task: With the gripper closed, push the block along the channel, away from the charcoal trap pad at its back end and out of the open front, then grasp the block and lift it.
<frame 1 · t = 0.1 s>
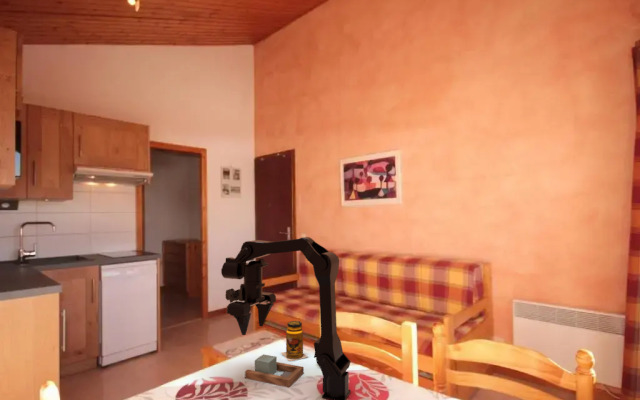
hand: (252, 330, 110), 14 cm above the table, tool pointing down, fingers open, 9 cm apart
condiment: (294, 356, 127), on the table
block: (265, 374, 112), on the table
trap: (285, 377, 109), on the table
channel: (272, 375, 111), on the table
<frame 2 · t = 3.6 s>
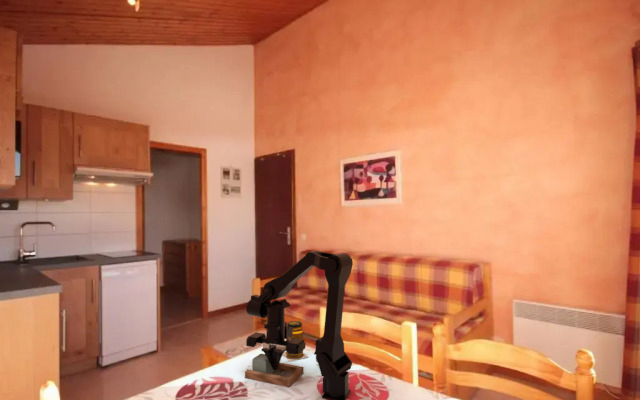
hand: (275, 370, 111), 2 cm above the table, tool pointing down, fingers closed
block: (263, 373, 112), on the table, touching gripper
everything else where it was.
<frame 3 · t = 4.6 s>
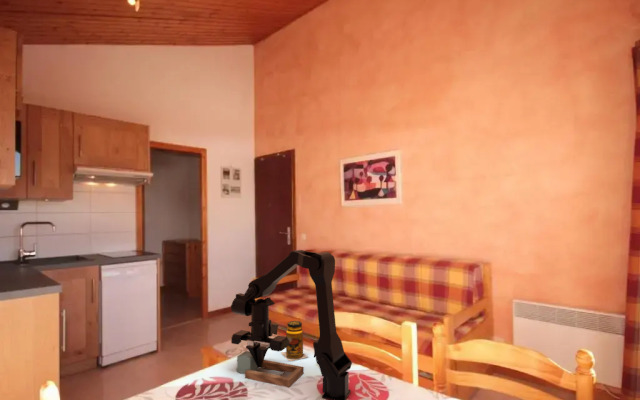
hand: (259, 367, 113), 2 cm above the table, tool pointing down, fingers closed
block: (247, 370, 115), on the table, touching gripper
everything else where it was.
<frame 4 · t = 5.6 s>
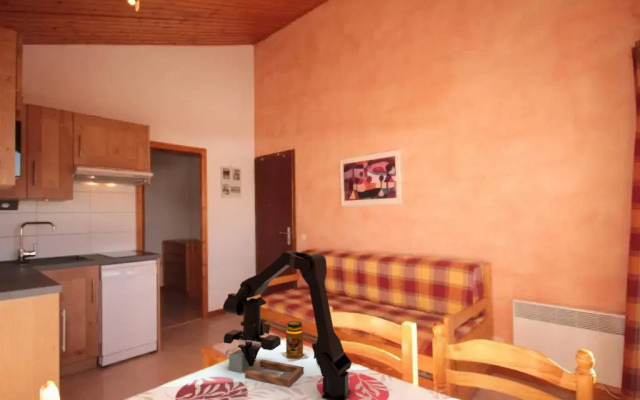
hand: (251, 366, 114), 2 cm above the table, tool pointing down, fingers closed
block: (239, 368, 116), on the table, touching gripper
everything else where it was.
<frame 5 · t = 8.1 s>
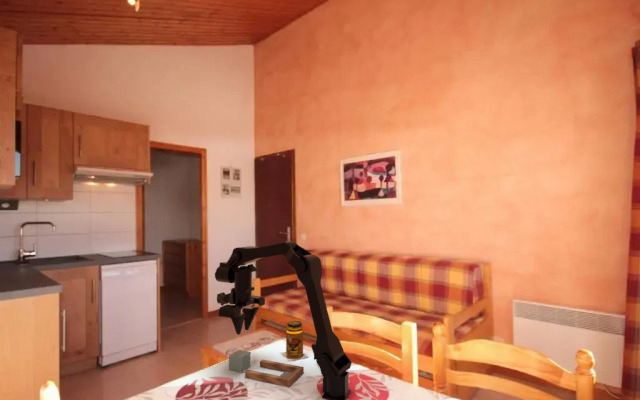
hand: (242, 332, 116), 12 cm above the table, tool pointing down, fingers open, 4 cm apart
block: (239, 369, 116), on the table
everything else where it was.
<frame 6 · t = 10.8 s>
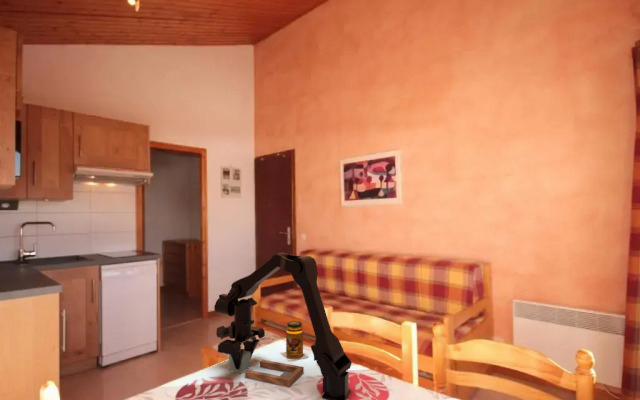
hand: (242, 365, 116), 1 cm above the table, tool pointing down, fingers closed on block, 5 cm apart
block: (239, 368, 116), on the table, touching gripper
everything else where it was.
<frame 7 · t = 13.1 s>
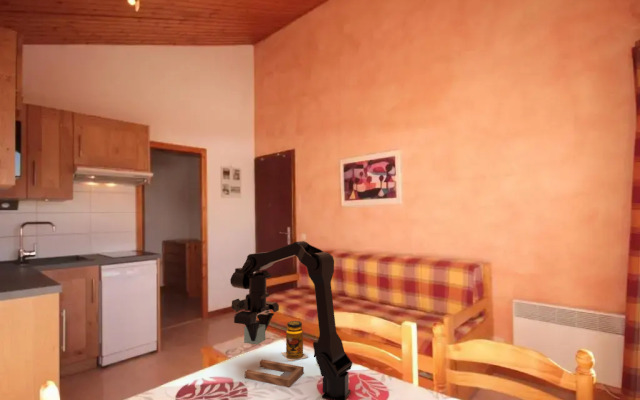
hand: (257, 338, 116), 10 cm above the table, tool pointing down, fingers closed on block, 5 cm apart
block: (254, 341, 116), point 9 cm above the table, touching gripper
everything else where it was.
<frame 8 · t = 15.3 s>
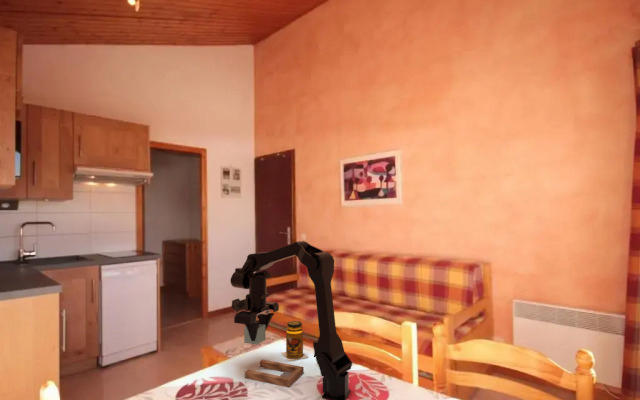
hand: (257, 338, 116), 10 cm above the table, tool pointing down, fingers closed on block, 5 cm apart
block: (254, 341, 116), point 9 cm above the table, touching gripper
everything else where it was.
at the end: the gripper is holding block; block inside the target area (2.1 cm from its centre), point 8.9 cm above the table; block moved 10.6 cm from its start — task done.
